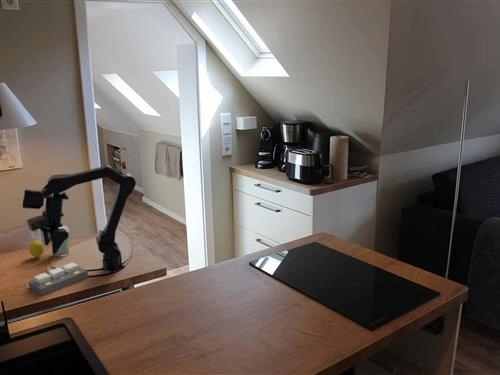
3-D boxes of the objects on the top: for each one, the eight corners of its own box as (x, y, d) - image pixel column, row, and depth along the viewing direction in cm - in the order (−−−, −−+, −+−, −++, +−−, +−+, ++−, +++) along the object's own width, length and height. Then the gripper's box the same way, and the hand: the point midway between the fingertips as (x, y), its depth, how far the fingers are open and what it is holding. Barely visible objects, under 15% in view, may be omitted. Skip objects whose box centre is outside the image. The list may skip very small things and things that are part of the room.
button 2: (73, 267, 171) (72, 262, 171) (78, 269, 169) (77, 265, 168) (63, 270, 168) (62, 266, 168) (68, 273, 166) (68, 268, 165)
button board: (74, 269, 174) (73, 263, 174) (88, 276, 168) (87, 270, 168) (29, 287, 161) (28, 280, 160) (42, 295, 155) (41, 288, 154)
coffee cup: (68, 248, 195) (64, 223, 192) (75, 254, 189) (71, 228, 186) (48, 254, 190) (44, 228, 187) (54, 260, 184) (50, 233, 180)
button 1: (45, 277, 163) (44, 272, 163) (50, 280, 161) (50, 275, 160) (34, 281, 160) (34, 276, 160) (40, 284, 158) (39, 279, 157)
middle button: (59, 272, 167) (58, 267, 167) (65, 275, 165) (64, 270, 164) (49, 276, 164) (48, 271, 164) (54, 279, 162) (54, 274, 161)
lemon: (47, 255, 189) (44, 237, 187) (40, 260, 184) (37, 242, 182) (35, 254, 190) (32, 237, 187) (28, 260, 184) (25, 242, 182)
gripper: (23, 203, 163) (20, 242, 166) (37, 218, 149) (34, 261, 152) (54, 202, 170) (51, 240, 173) (70, 216, 156) (66, 257, 159)
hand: (50, 249), depth 164 cm, fingers open, 9 cm apart
